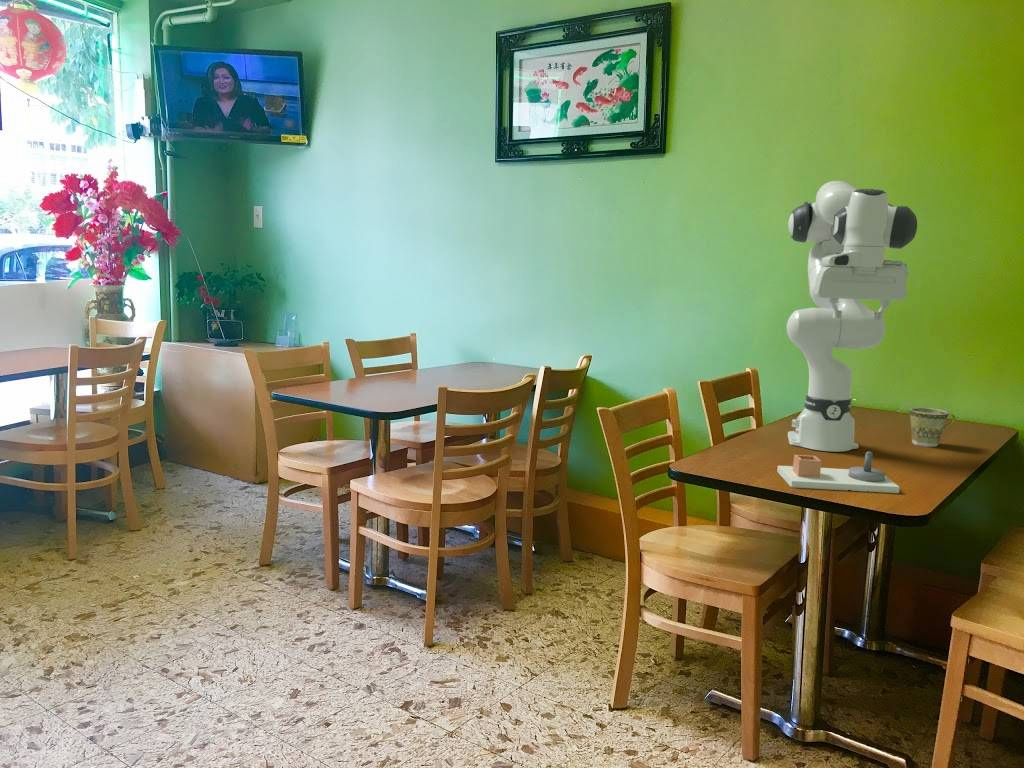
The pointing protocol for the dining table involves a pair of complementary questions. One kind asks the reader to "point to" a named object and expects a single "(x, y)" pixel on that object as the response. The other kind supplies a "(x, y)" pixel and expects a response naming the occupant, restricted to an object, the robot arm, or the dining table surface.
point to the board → (843, 478)
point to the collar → (806, 466)
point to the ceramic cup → (928, 425)
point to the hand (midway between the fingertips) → (857, 318)
